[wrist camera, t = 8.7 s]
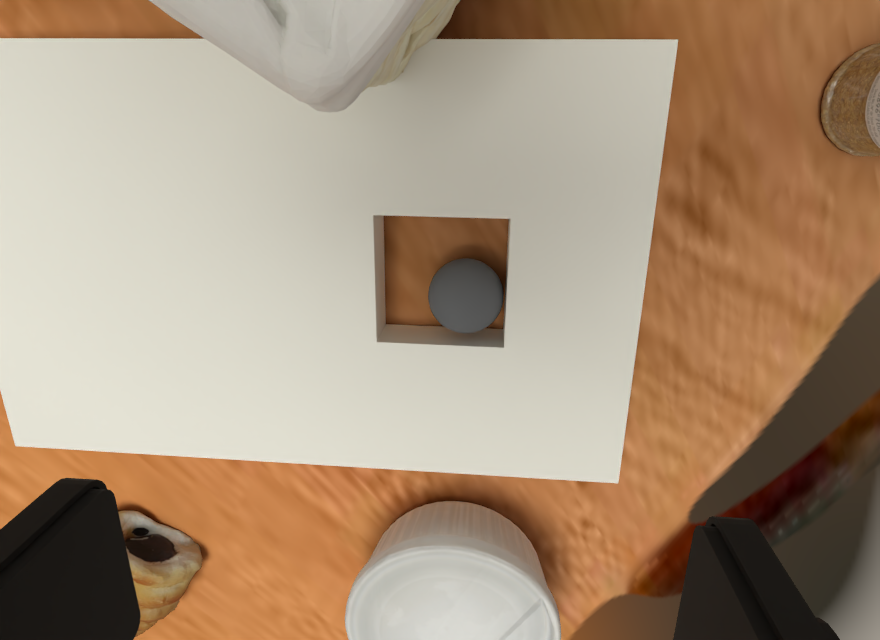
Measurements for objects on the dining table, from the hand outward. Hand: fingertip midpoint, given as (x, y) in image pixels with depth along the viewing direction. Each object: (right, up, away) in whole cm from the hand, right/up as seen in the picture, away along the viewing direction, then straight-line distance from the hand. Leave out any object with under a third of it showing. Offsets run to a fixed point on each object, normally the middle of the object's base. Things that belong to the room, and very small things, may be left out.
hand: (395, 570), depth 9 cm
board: (-6, +7, +20) cm, 22 cm away
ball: (+2, +5, +18) cm, 19 cm away
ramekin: (+2, -10, +26) cm, 28 cm away
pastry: (-18, -11, +28) cm, 35 cm away
